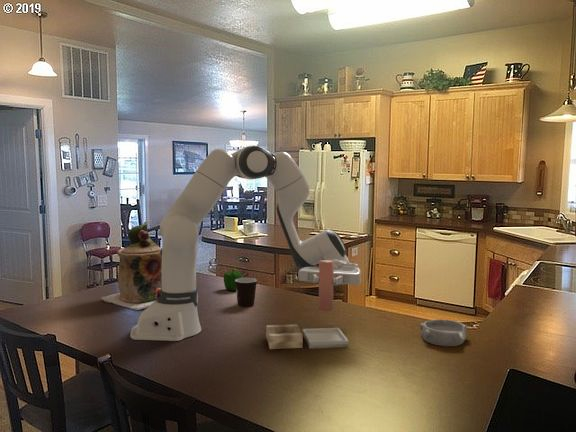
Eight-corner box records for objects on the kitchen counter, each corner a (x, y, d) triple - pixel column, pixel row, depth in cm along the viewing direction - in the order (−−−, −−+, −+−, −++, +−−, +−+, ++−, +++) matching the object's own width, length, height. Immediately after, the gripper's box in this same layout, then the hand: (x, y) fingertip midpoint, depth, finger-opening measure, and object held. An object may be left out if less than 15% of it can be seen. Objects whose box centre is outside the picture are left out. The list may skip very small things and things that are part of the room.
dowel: (320, 311, 145) (320, 263, 144) (317, 306, 150) (317, 260, 148) (334, 310, 146) (335, 262, 145) (331, 306, 151) (331, 260, 149)
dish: (466, 335, 156) (466, 321, 155) (467, 350, 143) (468, 334, 142) (420, 330, 160) (421, 316, 160) (417, 344, 147) (418, 329, 147)
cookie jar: (98, 301, 190) (96, 222, 187) (146, 289, 211) (145, 217, 208) (140, 311, 177) (138, 227, 174) (186, 297, 198) (186, 221, 195)
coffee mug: (253, 308, 183) (253, 283, 182) (232, 307, 184) (232, 282, 183) (261, 300, 194) (261, 276, 193) (240, 299, 196) (241, 275, 195)
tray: (309, 348, 142) (309, 342, 142) (302, 335, 154) (302, 329, 154) (348, 347, 144) (348, 340, 144) (338, 333, 156) (338, 327, 155)
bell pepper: (222, 288, 214) (222, 266, 213) (240, 287, 216) (240, 265, 215) (224, 292, 206) (224, 270, 205) (243, 291, 208) (243, 269, 207)
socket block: (269, 349, 141) (269, 336, 141) (266, 337, 151) (266, 325, 151) (302, 347, 143) (302, 334, 142) (297, 336, 153) (297, 324, 152)
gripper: (303, 261, 162) (293, 269, 149) (363, 264, 157) (358, 273, 143) (302, 279, 163) (293, 288, 149) (362, 283, 157) (358, 293, 144)
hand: (325, 281), depth 146 cm, fingers closed on dowel, 4 cm apart
